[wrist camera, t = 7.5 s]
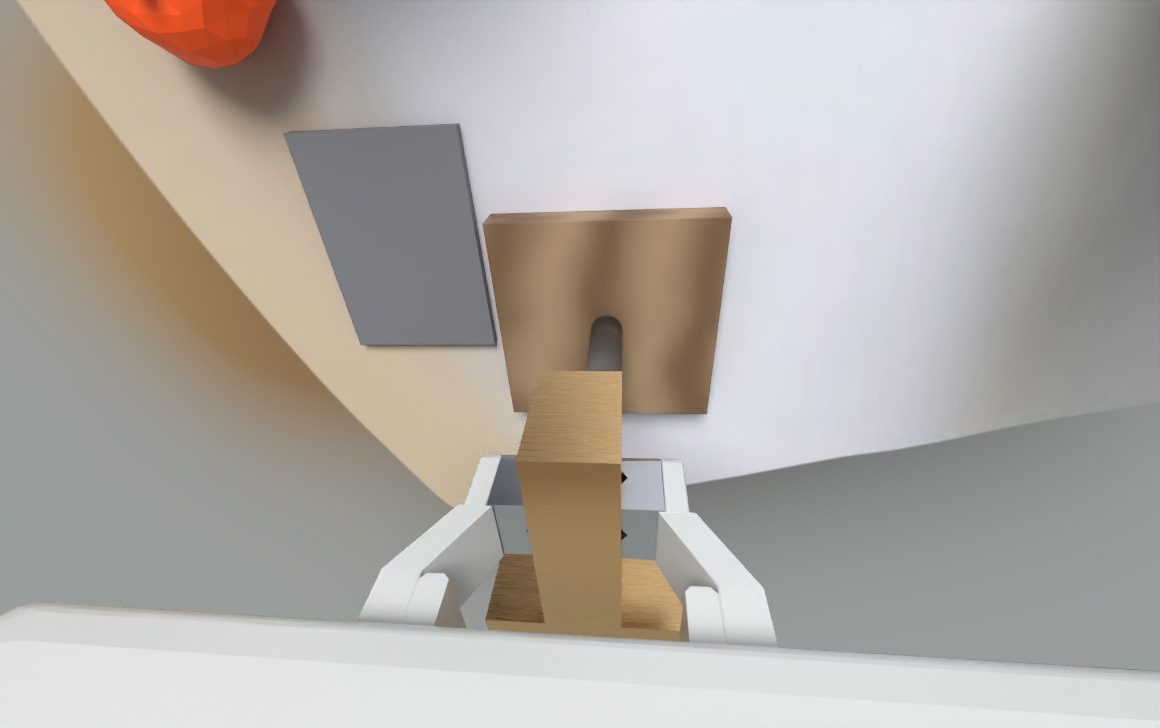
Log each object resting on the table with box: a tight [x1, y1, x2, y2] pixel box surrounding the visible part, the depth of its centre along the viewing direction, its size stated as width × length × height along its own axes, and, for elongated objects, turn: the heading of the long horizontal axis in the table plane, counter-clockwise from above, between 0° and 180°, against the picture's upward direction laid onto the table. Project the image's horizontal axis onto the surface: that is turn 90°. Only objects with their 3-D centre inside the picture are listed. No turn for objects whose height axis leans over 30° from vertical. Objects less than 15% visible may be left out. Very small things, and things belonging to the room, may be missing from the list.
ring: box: [486, 371, 682, 641], centre depth 13 cm, size 5×11×3 cm, turn 3°
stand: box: [483, 207, 732, 414], centre depth 26 cm, size 14×14×14 cm
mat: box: [283, 124, 497, 345], centre depth 30 cm, size 10×14×1 cm
